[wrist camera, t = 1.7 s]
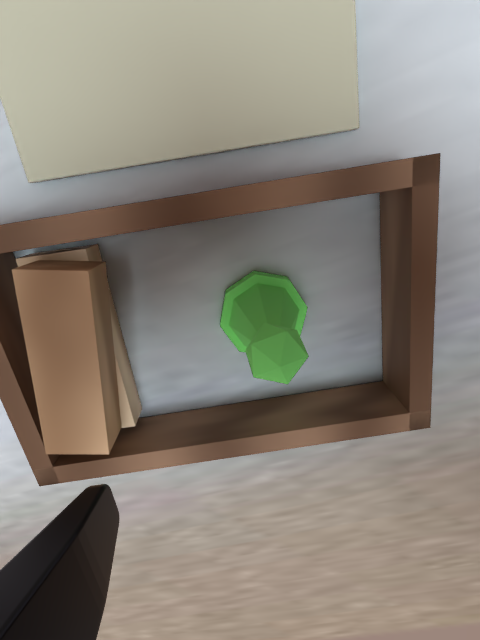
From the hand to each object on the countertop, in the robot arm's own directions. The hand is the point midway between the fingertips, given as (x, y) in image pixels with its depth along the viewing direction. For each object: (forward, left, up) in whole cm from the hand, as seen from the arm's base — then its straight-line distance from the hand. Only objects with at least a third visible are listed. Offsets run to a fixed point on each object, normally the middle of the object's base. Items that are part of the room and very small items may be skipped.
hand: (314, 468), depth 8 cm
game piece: (0, 0, -11) cm, 11 cm away
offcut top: (+9, 0, -9) cm, 13 cm away
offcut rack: (+3, 0, -11) cm, 11 cm away
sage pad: (+2, -13, -11) cm, 17 cm away
